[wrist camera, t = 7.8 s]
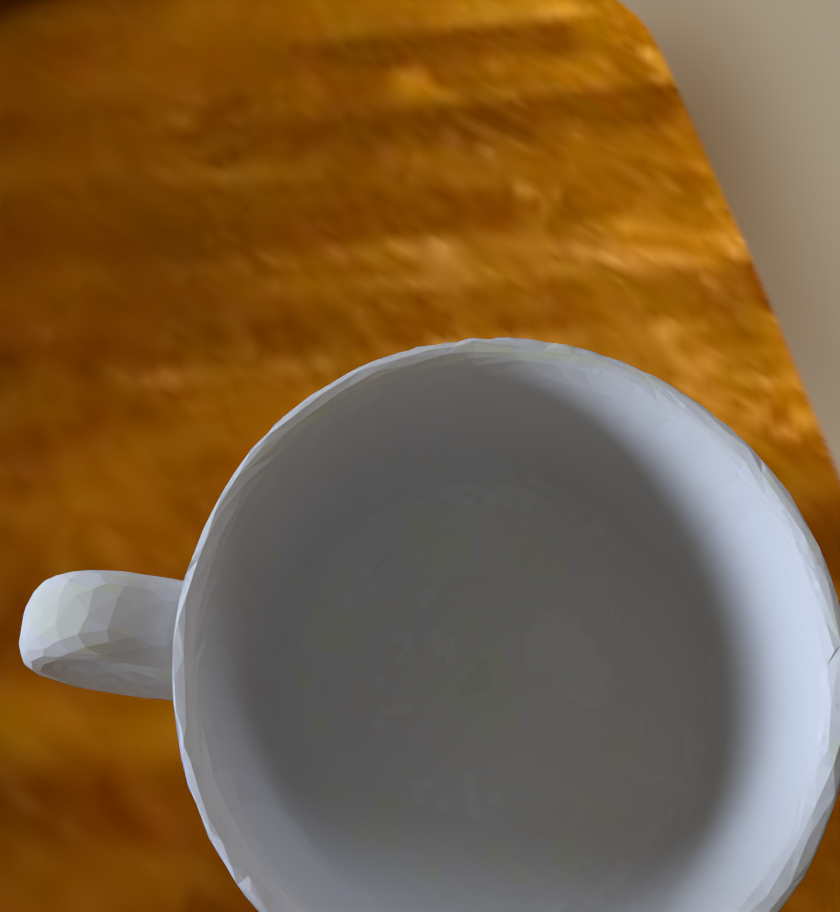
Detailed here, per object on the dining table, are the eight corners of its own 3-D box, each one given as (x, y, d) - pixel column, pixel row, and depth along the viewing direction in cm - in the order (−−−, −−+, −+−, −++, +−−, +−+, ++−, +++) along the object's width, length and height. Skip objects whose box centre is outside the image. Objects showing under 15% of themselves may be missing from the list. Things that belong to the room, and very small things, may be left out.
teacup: (726, 554, 21) (861, 388, 14) (696, 1043, 16) (879, 1164, 9) (233, 457, 23) (135, 269, 16) (73, 865, 18) (-170, 852, 11)
